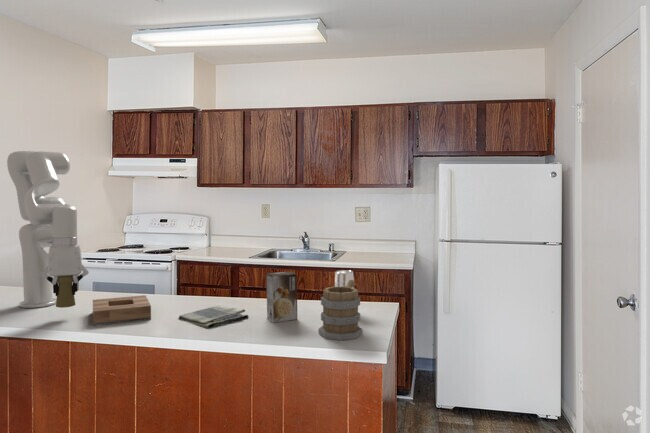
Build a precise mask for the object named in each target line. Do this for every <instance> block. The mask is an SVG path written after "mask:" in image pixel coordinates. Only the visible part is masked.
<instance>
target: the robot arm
mask: <svg viewBox="0 0 650 433" xmlns="http://www.w3.org/2000/svg"><path fill="white" fill-rule="evenodd" d="M6 163H7V166H6V167H7V171H8V174H9V177H10V179H11V181H12V182H13V185H14V186H15V190H16V196H17V201H18V203H17V204H18V209H19V214H20V217H21V218H22V220H24V221H26V222H29V223H26V224H23V225H22V226H21V227H20V229H19V230H18V238H19V243H20V248H21V255H22V256H21V257H22V260H21V261H22V277H23V279H22V280H23V284H22V285H23V300H22V301H20V302H19V303H18V306H19V307H20V308H24V309H35V308H43V307H49V306H53V305H56V300H57V298H54V297H53V294H54V295H55V297H57V296H58V285H59V284H58V282H57V278H58V276H71V275H72V276H73V280H74V281H73V282H72V285H73V295H74V296H75V295H76V292H78V283H79V282H80V281H81V280H82V279H83V278H84V277H86V276H87V275H88V274H89V270H88V269H87V268H86V267H85V266H84V265H83V260H82V251H81V246H80V245H79V244H78V211H77V208H76V207H75V206H73V205H70V204H67V203H65V201H64V200H63V198H62V197H58V196H47V195H50V194H52V193H54V192H55V191H57V190H58V189H59V187H60V179H59V177H58V175H62V176H63V175H67V174H68V173H69V172H70V168H71V164H70V159H69V157H68V155H66V154H65V153H64V152H56V151H55V152H53V151H31V150H18V151H12V152H11V153H9V154H8V156H7V159H6ZM44 248H48V252H46V250H45V249H44Z"/></svg>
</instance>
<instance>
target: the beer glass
mask: <svg viewBox="0 0 650 433" xmlns="http://www.w3.org/2000/svg"><path fill="white" fill-rule="evenodd" d="M349 280H353V281H354V282H355V278H354V271H353V270H346V269H345V270H344V269H342V270H341V269H340V270H335V275H334V287H337V286H340V287H341V286H343V287H346V285H347V284H348V282H349ZM353 288H355V286H354V287H353Z"/></svg>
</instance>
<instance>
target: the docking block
mask: <svg viewBox="0 0 650 433" xmlns="http://www.w3.org/2000/svg"><path fill="white" fill-rule="evenodd" d="M149 320H152V306H151V303H150V301H149V299H148V297H147V295H145V294H144V295H143V294H142V295H132V296H131V295H130V296H123V297H110V298H97V299H92V326H102V325H112V324H120V323H129V322H137V321H138V322H140V321H149Z"/></svg>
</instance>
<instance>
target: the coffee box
mask: <svg viewBox="0 0 650 433" xmlns="http://www.w3.org/2000/svg"><path fill="white" fill-rule="evenodd" d="M297 275H298V274H297V273H295V272H294V271H293V272H292V271H277V272H267V273H266V319H267V320H269V321H270V322H272V323H279V322H280V323H282V322H287V321H293V320H298V276H297Z"/></svg>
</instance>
